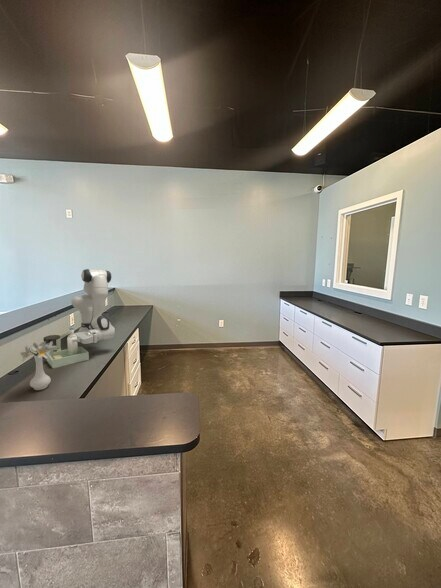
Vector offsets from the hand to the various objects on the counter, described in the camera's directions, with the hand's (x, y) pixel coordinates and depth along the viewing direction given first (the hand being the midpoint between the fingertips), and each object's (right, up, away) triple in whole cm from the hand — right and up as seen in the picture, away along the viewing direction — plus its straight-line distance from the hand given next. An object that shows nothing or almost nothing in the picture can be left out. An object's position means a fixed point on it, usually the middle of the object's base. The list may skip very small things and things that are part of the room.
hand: (70, 339), depth 172 cm
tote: (-2, -15, +1) cm, 15 cm away
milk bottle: (0, -10, +2) cm, 10 cm away
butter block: (-6, -15, -4) cm, 16 cm away
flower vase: (+4, -20, -34) cm, 40 cm away
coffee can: (-18, -14, +9) cm, 25 cm away
